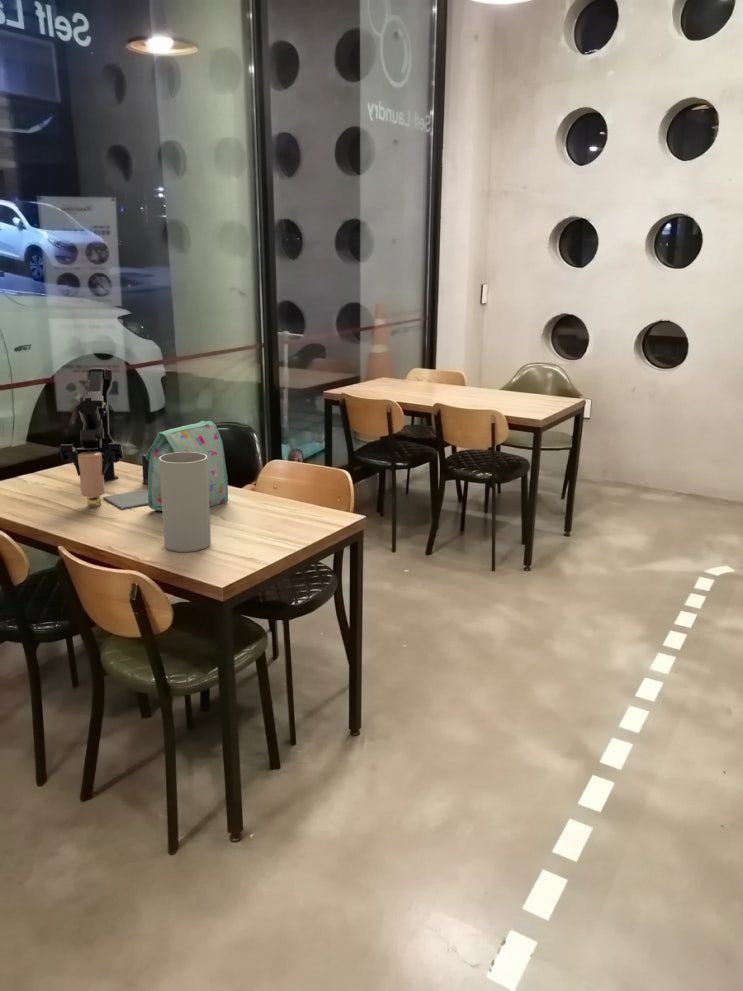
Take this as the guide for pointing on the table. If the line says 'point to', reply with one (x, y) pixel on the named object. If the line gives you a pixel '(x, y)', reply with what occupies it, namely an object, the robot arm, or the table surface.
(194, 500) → the cylinder vase
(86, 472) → the terracotta cup
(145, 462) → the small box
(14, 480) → the table surface
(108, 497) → the slate mat
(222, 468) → the lunch bag
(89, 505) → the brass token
